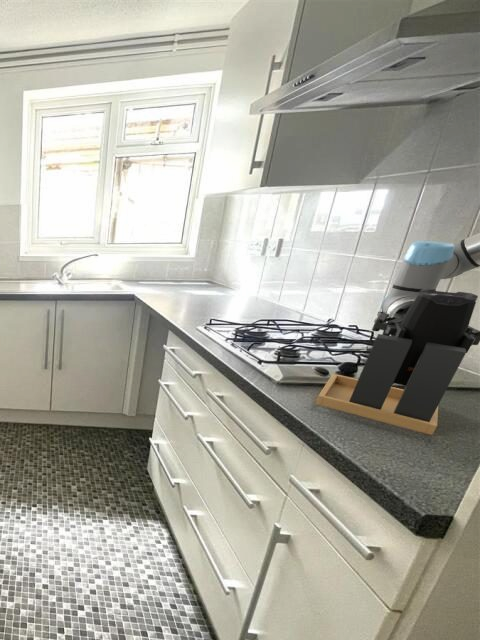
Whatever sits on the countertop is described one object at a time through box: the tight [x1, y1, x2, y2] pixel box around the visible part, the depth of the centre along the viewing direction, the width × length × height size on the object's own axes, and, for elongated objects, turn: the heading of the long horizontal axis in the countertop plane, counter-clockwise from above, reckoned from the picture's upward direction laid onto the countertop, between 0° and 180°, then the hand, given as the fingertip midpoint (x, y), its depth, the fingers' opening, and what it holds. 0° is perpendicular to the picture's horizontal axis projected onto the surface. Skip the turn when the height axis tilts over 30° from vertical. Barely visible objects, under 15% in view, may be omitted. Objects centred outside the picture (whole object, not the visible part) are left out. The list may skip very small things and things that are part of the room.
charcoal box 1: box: [349, 333, 412, 410], centre depth 85 cm, size 5×3×16 cm, turn 43°
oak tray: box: [315, 373, 439, 436], centre depth 90 cm, size 18×18×3 cm
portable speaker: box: [393, 289, 479, 387], centre depth 84 cm, size 9×9×20 cm
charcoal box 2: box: [393, 342, 467, 422], centre depth 80 cm, size 5×3×16 cm, turn 43°
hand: (433, 341), depth 80 cm, fingers closed on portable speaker, 8 cm apart
